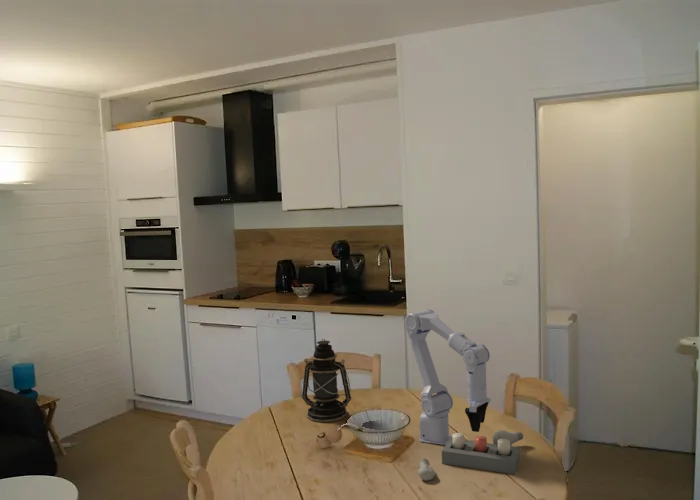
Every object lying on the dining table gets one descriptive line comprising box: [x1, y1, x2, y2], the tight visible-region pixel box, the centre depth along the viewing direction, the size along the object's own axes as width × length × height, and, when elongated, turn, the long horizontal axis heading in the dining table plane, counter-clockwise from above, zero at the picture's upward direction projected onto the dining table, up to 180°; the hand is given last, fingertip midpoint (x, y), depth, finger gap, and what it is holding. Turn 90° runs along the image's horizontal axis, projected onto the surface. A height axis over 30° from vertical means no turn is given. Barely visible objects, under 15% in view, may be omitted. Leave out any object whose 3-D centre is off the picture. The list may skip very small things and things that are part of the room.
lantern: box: [301, 338, 352, 423], centre depth 222 cm, size 20×16×30 cm
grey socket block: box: [441, 438, 522, 475], centre depth 177 cm, size 22×10×4 cm, turn 65°
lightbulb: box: [492, 429, 524, 446], centre depth 186 cm, size 6×6×11 cm
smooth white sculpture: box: [417, 458, 436, 482], centre depth 170 cm, size 4×8×5 cm
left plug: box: [451, 432, 465, 449], centre depth 180 cm, size 4×4×4 cm
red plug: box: [474, 435, 488, 452], centre depth 177 cm, size 4×4×4 cm
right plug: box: [498, 439, 510, 456], centre depth 174 cm, size 4×4×4 cm
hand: (478, 426), depth 180 cm, fingers open, 7 cm apart
